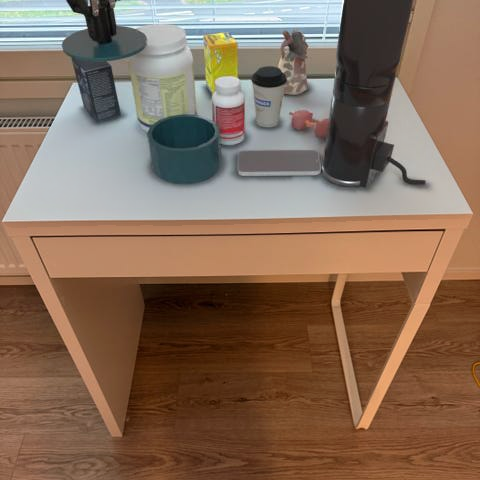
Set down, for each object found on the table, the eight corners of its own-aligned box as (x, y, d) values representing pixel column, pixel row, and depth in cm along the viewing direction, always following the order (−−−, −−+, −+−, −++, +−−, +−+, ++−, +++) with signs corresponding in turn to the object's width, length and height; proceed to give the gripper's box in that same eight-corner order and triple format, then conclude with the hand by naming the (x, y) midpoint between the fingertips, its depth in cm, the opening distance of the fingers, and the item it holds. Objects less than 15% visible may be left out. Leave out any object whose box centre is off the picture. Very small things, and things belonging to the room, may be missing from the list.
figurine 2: (296, 120, 104) (279, 127, 99) (299, 103, 101) (281, 110, 97) (347, 136, 99) (332, 145, 94) (351, 119, 97) (336, 127, 92)
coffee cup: (271, 110, 104) (273, 60, 97) (291, 124, 100) (295, 73, 93) (244, 119, 102) (244, 69, 94) (263, 133, 98) (264, 82, 90)
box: (83, 108, 106) (70, 56, 98) (108, 101, 108) (97, 50, 100) (96, 123, 102) (83, 70, 93) (122, 116, 103) (111, 64, 95)
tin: (233, 157, 93) (232, 124, 88) (196, 191, 86) (193, 158, 81) (178, 140, 97) (174, 108, 92) (138, 171, 90) (132, 138, 85)
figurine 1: (308, 94, 109) (314, 35, 100) (277, 95, 109) (280, 36, 100) (304, 80, 114) (309, 23, 105) (274, 81, 114) (276, 23, 105)
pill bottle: (250, 140, 97) (251, 83, 88) (224, 149, 95) (222, 92, 86) (233, 127, 100) (232, 71, 92) (207, 135, 98) (204, 79, 90)
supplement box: (205, 87, 112) (202, 34, 104) (230, 83, 113) (229, 31, 105) (212, 98, 108) (209, 45, 100) (238, 94, 110) (238, 41, 101)
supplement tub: (155, 105, 107) (142, 18, 94) (207, 114, 104) (201, 25, 91) (127, 132, 99) (110, 41, 86) (182, 143, 96) (173, 51, 83)
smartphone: (238, 150, 93) (317, 149, 92) (238, 154, 93) (317, 154, 93) (237, 172, 88) (321, 171, 87) (237, 176, 89) (321, 176, 88)
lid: (164, 42, 82) (160, 0, 77) (112, 72, 74) (103, 28, 70) (101, 27, 86) (93, -14, 82) (45, 54, 79) (33, 11, 74)
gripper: (61, -90, 61) (93, 57, 74) (131, -109, 69) (149, 28, 82) (17, -96, 63) (56, 48, 76) (90, -114, 71) (114, 20, 84)
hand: (104, 37), depth 79 cm, fingers closed on lid, 2 cm apart
